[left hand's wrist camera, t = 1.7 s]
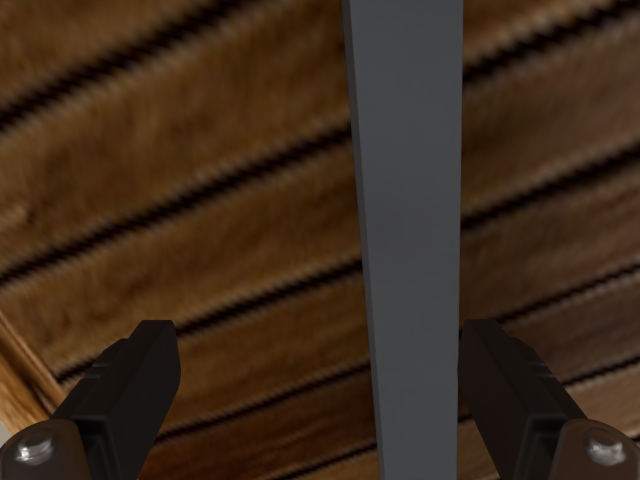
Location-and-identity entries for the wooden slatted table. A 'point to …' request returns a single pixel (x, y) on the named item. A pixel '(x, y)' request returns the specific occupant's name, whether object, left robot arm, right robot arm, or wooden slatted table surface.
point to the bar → (409, 221)
